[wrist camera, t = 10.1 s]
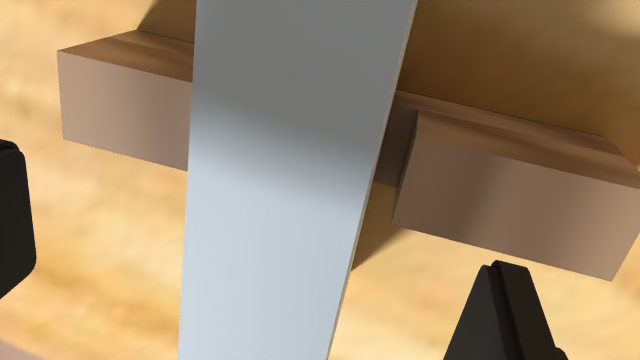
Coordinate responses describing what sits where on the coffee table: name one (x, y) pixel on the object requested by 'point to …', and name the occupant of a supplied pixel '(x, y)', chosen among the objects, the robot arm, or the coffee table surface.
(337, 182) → the blue grey notched plate
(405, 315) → the coffee table surface
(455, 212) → the brown notched bar
